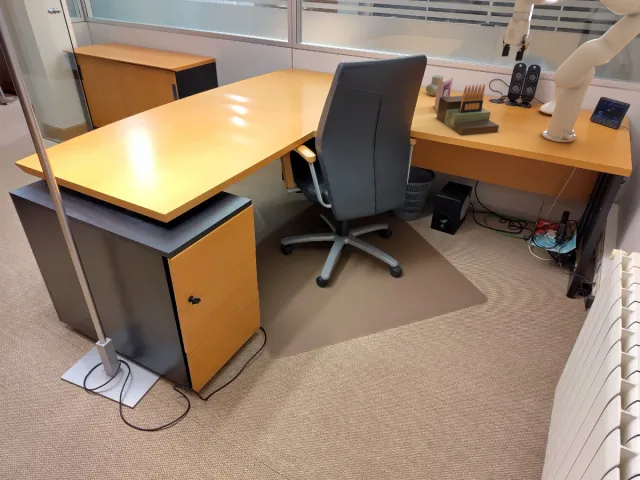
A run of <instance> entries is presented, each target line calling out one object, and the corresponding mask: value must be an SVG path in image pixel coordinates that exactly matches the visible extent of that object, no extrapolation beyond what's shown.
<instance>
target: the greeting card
mask: <svg viewBox="0 0 640 480" xmlns="http://www.w3.org/2000/svg"><path fill="white" fill-rule="evenodd" d="M453 80H454V78H453V77H452V78H450V79H448V80H445V81H444V80H443V81H442V80H441V78H440V77H439V80H438V86H437V93H436V96H435V99H434V106H433V107H434V109H435V110H436V112H438V106H439V100H440V97H450V96H451V92H452V86H453Z"/></svg>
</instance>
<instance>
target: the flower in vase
mask: <svg viewBox="0 0 640 480" xmlns="http://www.w3.org/2000/svg"><path fill="white" fill-rule="evenodd" d="M561 89H562V88H559V87H557V86H556V85H555V83H554V94H553V98H552V99H551V100H550V101H548V102H546V103H544V104H543V105H541V106H540V108H539V110H540V112H542V113H544V114H546V115H551V116H552V114H553V111H554V108H555V105H556V102H557V99H558V96H559V93H560V91H561Z"/></svg>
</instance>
